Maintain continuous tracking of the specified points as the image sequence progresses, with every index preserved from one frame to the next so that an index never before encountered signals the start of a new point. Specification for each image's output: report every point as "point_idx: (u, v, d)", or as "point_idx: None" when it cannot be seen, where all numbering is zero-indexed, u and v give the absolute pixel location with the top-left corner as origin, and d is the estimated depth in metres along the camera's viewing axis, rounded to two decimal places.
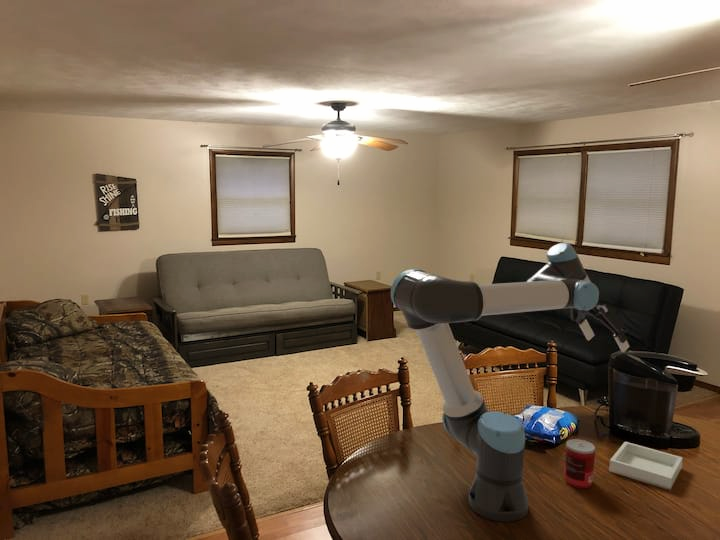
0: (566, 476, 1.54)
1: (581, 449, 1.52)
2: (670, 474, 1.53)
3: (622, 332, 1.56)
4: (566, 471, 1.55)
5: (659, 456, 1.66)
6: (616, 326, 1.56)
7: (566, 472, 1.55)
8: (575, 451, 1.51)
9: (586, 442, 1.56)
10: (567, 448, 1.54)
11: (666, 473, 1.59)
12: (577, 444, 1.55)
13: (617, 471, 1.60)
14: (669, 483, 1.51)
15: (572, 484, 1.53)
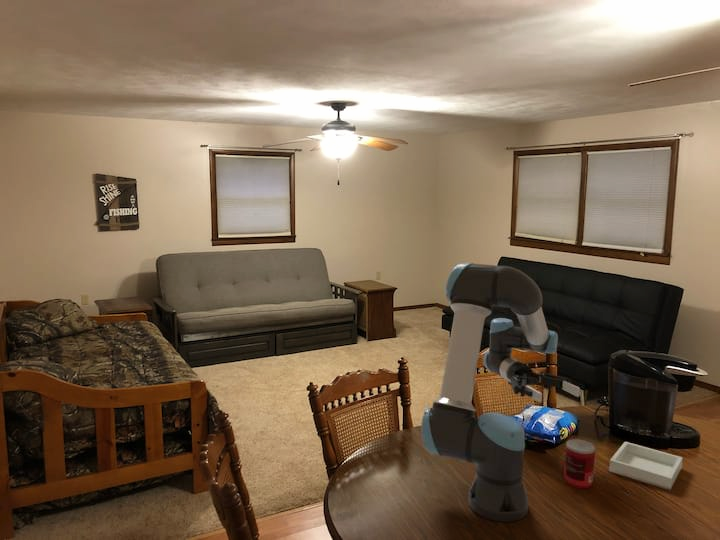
0: (566, 476, 1.54)
1: (581, 449, 1.52)
2: (670, 474, 1.53)
3: None
4: (566, 471, 1.55)
5: (659, 456, 1.66)
6: None
7: (566, 472, 1.55)
8: (575, 451, 1.51)
9: (586, 442, 1.56)
10: (567, 448, 1.54)
11: (666, 473, 1.59)
12: (577, 444, 1.55)
13: (617, 471, 1.60)
14: (669, 483, 1.51)
15: (572, 484, 1.53)
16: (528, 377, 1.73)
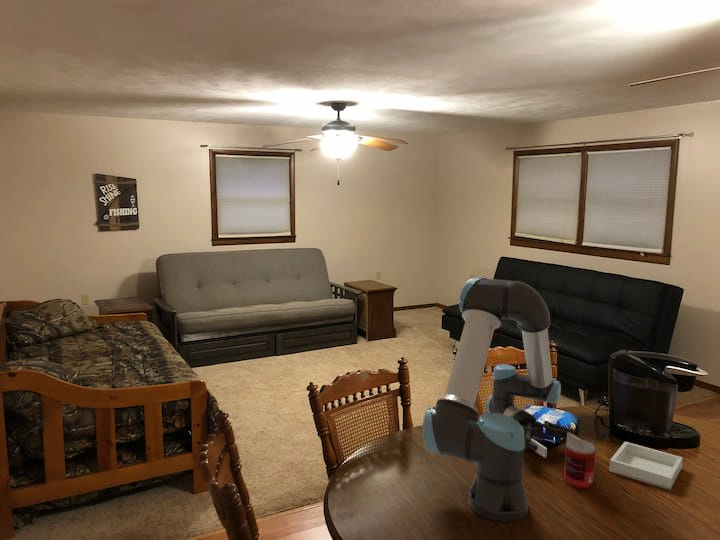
0: (566, 476, 1.54)
1: (581, 449, 1.52)
2: (670, 474, 1.53)
3: None
4: (566, 471, 1.55)
5: (659, 456, 1.66)
6: None
7: (566, 472, 1.55)
8: (575, 451, 1.51)
9: (586, 442, 1.56)
10: (567, 448, 1.54)
11: (666, 473, 1.59)
12: (577, 444, 1.55)
13: (617, 471, 1.60)
14: (669, 483, 1.51)
15: (572, 484, 1.53)
16: (532, 428, 1.73)
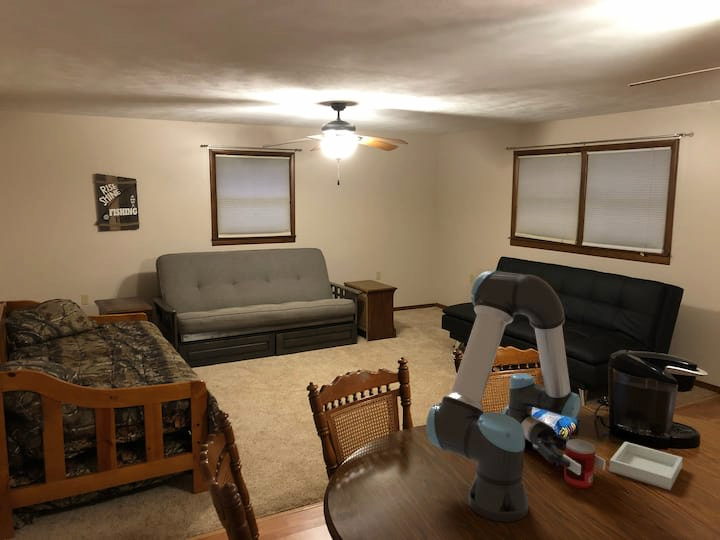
0: (566, 476, 1.54)
1: (581, 449, 1.52)
2: (670, 474, 1.53)
3: None
4: (566, 471, 1.55)
5: (659, 456, 1.66)
6: None
7: (566, 472, 1.55)
8: (575, 451, 1.51)
9: (586, 442, 1.56)
10: (567, 448, 1.54)
11: (666, 473, 1.59)
12: (577, 444, 1.55)
13: (617, 471, 1.60)
14: (669, 483, 1.51)
15: (572, 484, 1.53)
16: (552, 441, 1.64)
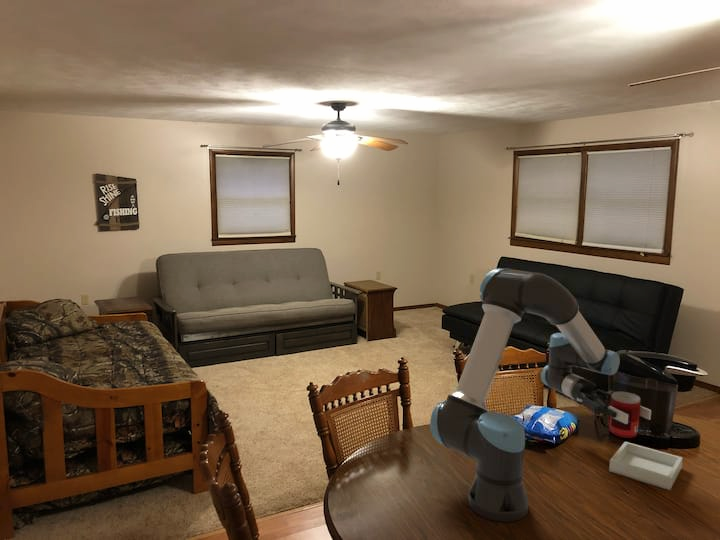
0: (612, 426, 1.59)
1: (627, 400, 1.57)
2: (670, 474, 1.53)
3: None
4: (612, 422, 1.59)
5: (659, 456, 1.66)
6: None
7: (612, 423, 1.59)
8: (621, 401, 1.55)
9: (630, 394, 1.60)
10: (612, 399, 1.58)
11: (666, 473, 1.59)
12: (622, 396, 1.59)
13: (617, 471, 1.60)
14: (669, 483, 1.51)
15: (618, 434, 1.57)
16: None
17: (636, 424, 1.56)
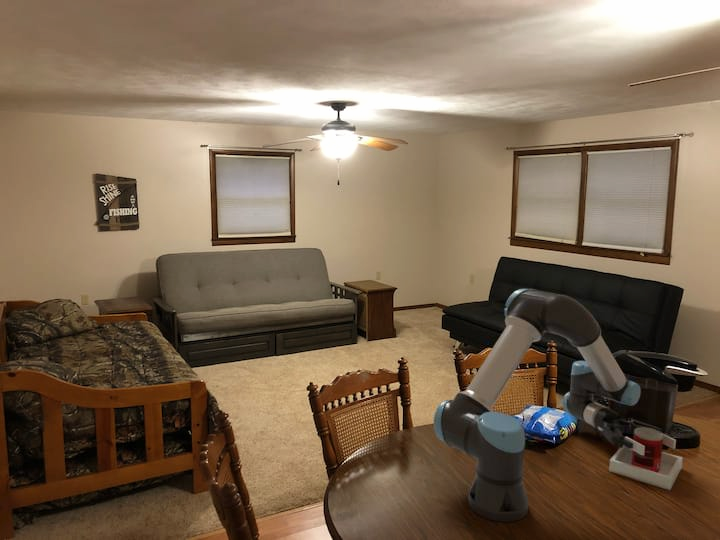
0: (635, 462, 1.61)
1: (650, 436, 1.59)
2: (670, 474, 1.53)
3: None
4: (634, 457, 1.62)
5: None
6: None
7: (634, 458, 1.62)
8: (644, 438, 1.58)
9: (653, 430, 1.63)
10: (635, 435, 1.61)
11: (666, 473, 1.59)
12: (645, 432, 1.62)
13: (617, 471, 1.60)
14: (669, 483, 1.51)
15: None
16: (618, 425, 1.70)
17: (659, 460, 1.59)
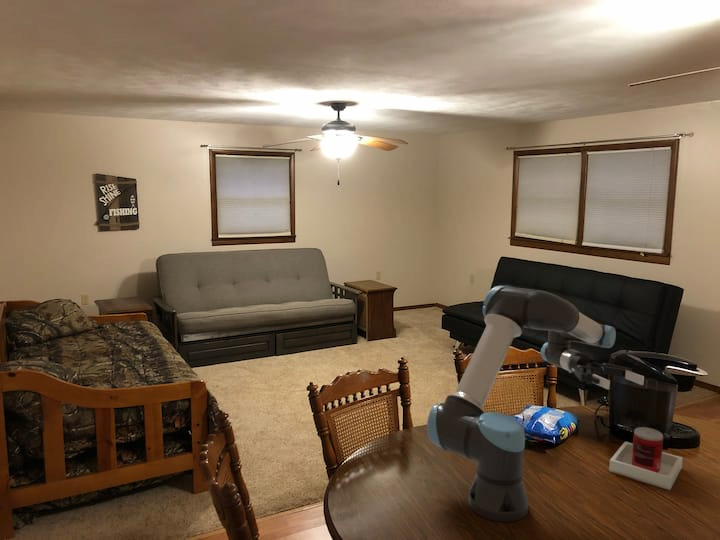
0: (635, 462, 1.61)
1: (650, 436, 1.59)
2: (670, 474, 1.53)
3: None
4: (634, 457, 1.62)
5: None
6: None
7: (634, 458, 1.62)
8: (644, 438, 1.58)
9: (653, 430, 1.63)
10: (635, 435, 1.61)
11: (666, 473, 1.59)
12: (645, 432, 1.62)
13: (617, 471, 1.60)
14: (669, 483, 1.51)
15: None
16: (591, 367, 1.80)
17: (659, 460, 1.59)
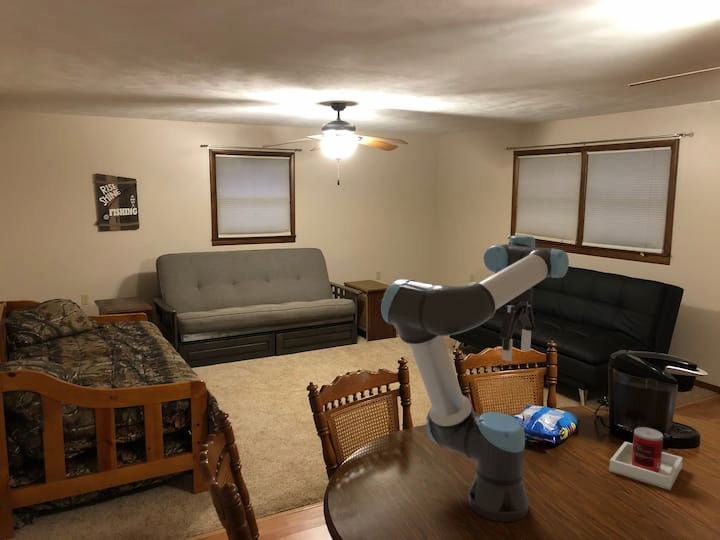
0: (635, 462, 1.61)
1: (650, 436, 1.59)
2: (670, 474, 1.53)
3: (501, 335, 1.60)
4: (634, 457, 1.62)
5: None
6: (502, 327, 1.60)
7: (634, 458, 1.62)
8: (644, 438, 1.58)
9: (653, 430, 1.63)
10: (635, 435, 1.61)
11: (666, 473, 1.59)
12: (645, 432, 1.62)
13: (617, 471, 1.60)
14: (669, 483, 1.51)
15: None
16: None
17: (659, 460, 1.59)
